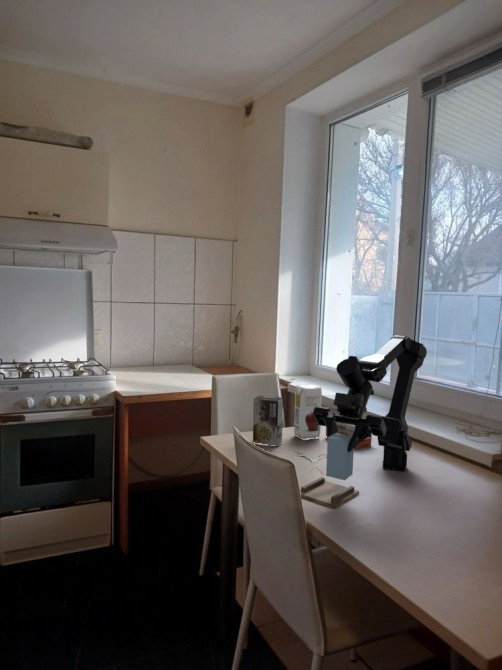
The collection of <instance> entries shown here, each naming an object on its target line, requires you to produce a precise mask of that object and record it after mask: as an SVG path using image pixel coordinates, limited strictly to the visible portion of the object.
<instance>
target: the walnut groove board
mask: <svg viewBox="0 0 502 670" xmlns="http://www.w3.org/2000/svg"><path fill="white" fill-rule="evenodd" d="M300 492H301V497H300V498H303V499H305V498H306V500H308V499H309V501H312V502H314V503H318V504H320V505H323V506H327V507H329V508H333V509H337V508H338V507H340V506H341V505H343V504H345V503H346V502H348V501H349V500H351V499H353V498H354V497H356V496H357V495H359V494H360V490H357V489H355V486H353V485H350V486H345V485H340V484H338V483H334V482H330V481H328V480H326V478H325V477H323V476H321V477H318V479H316V480H313V481H311V482H309V483H307V484H305V485H303V486H301V487H300Z"/></svg>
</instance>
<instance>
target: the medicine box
mask: <svg viewBox="0 0 502 670" xmlns="http://www.w3.org/2000/svg"><path fill="white" fill-rule="evenodd" d="M336 426H337V428H338V432H337V433H339V434H344V435H350V436H352V435H353V433H354V430H355V425H350V424H344V423H339V422H337V424H336ZM371 435H372V436H371V437H367V438H366V439H365V440H363V441H362V442H360V443H359V444H358V445H357V446H356V447H355V448H354V450H355V449H356V448H357V449H360V448H364V447H370V446H372V439H373V434H372V433H371ZM326 436H327V427H326V426H325V437H326ZM369 445H370V446H369Z"/></svg>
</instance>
